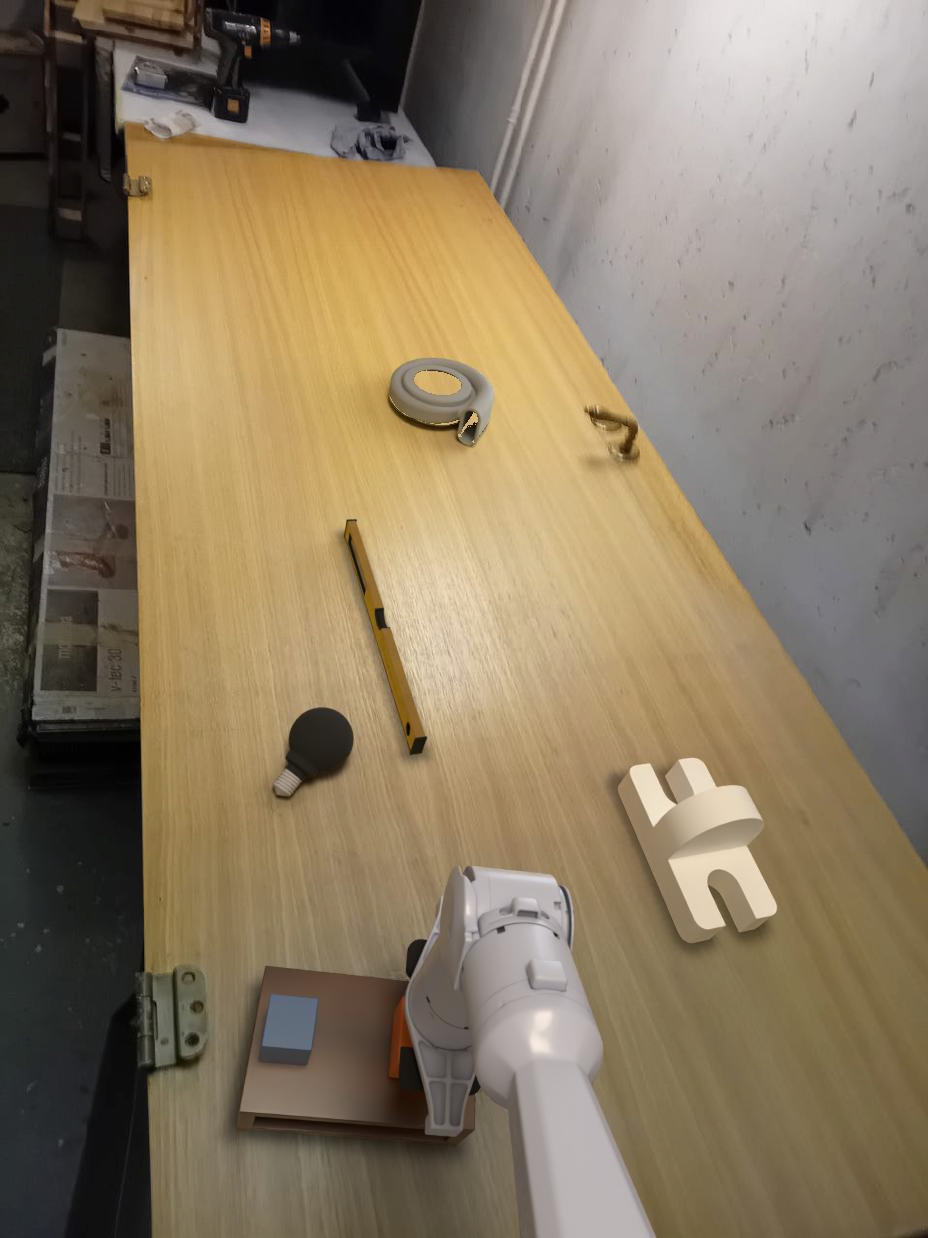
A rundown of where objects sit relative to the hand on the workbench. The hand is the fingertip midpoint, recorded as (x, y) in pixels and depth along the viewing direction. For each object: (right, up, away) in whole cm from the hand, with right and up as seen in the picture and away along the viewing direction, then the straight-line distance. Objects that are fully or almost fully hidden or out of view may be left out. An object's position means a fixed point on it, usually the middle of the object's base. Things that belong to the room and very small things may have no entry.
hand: (424, 1041), depth 61 cm
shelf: (-6, -5, +5) cm, 9 cm away
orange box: (0, -1, +1) cm, 2 cm away
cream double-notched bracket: (+26, +7, +26) cm, 38 cm away
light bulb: (-12, +16, +23) cm, 31 cm away
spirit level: (-7, +30, +36) cm, 47 cm away
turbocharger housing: (-1, +65, +70) cm, 95 cm away
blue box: (-10, 0, 0) cm, 10 cm away
